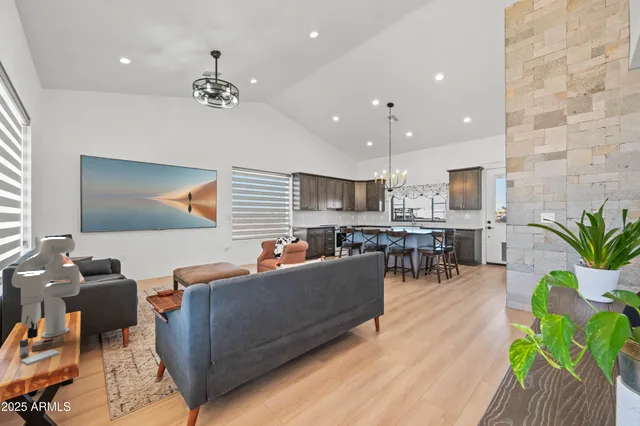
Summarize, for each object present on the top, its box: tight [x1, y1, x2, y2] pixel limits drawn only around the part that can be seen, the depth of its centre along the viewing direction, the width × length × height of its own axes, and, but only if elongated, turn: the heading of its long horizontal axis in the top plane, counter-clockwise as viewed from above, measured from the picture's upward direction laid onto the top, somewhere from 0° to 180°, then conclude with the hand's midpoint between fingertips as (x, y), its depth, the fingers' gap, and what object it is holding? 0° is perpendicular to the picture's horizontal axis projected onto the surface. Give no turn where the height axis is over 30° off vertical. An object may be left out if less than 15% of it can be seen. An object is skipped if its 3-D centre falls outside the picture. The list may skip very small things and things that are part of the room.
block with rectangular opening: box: [31, 336, 65, 352], centre depth 160 cm, size 6×12×3 cm, turn 122°
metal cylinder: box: [19, 338, 29, 358], centre depth 150 cm, size 3×3×8 cm
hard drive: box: [20, 348, 60, 366], centre depth 148 cm, size 2×8×12 cm
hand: (32, 337), depth 138 cm, fingers closed
